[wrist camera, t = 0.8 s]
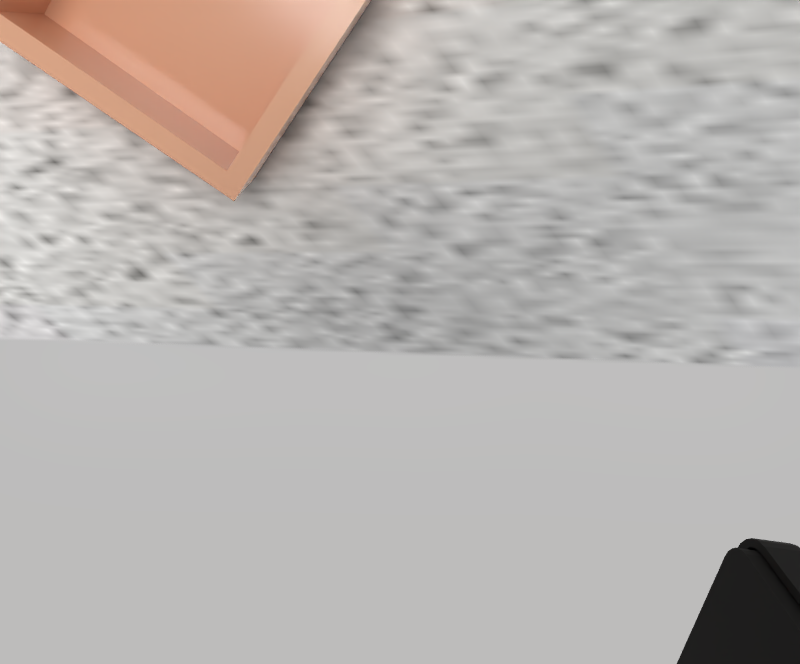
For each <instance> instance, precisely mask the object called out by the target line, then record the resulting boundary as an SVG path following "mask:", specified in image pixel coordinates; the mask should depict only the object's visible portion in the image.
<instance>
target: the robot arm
mask: <svg viewBox="0 0 800 664" xmlns="http://www.w3.org/2000/svg"><path fill="white" fill-rule="evenodd" d="M677 664H800V548H799V547H798V546H796V545H793V544H790V543H783V542H775V541H768V540H760V539H753V538H751V539H746V540H744V541H743V542H742V543H740V545H739V547H738V548H732V549H731V550H729V551H728V553H727V554H726V556H725V557H724V560H723V562H722V564H721V566H720V569H719V571H718V573H717V575H716V578H715V580H714V582H713V584H712V586H711V589H710V591H709V593H708V595H707V598H706V600H705V602H704V604H703V607H702V609H701V611H700V613H699V615H698V618H697V620H696V622H695V625H694V627H693V629H692V631H691V633H690V636H689V638H688V640H687V642H686V644H685V647H684V649H683V651H682V654H681V656H680V658H679V660H678V662H677Z"/></svg>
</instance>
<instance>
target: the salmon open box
mask: <svg viewBox="0 0 800 664" xmlns="http://www.w3.org/2000/svg"><path fill="white" fill-rule="evenodd" d="M370 2H371V0H0V42H2V43H3V44H5V45H6V46H8V47H9V48H11V49H12V50H14V51H15V52H16V53H18V54H19V55H21V56H22V57H24V58H25V59H27V60H28V61H30V62H31V63H33V64H34V65H36V66H37V67H38V68H40V69H41V70H43V71H44V72H46V73H47V74H49V75H50V76H52V77H53V78H55V79H56V80H58V81H59V82H60V83H62V84H63V85H65V86H66V87H68V88H69V89H71V90H72V91H74V92H75V93H77V94H78V95H79V96H81V97H82V98H84V99H85V100H87V101H88V102H90V103H91V104H93V105H94V106H96V107H97V108H99V109H100V110H101V111H103V112H104V113H106V114H107V115H109V116H110V117H112V118H113V119H115V120H116V121H118V122H119V123H120V124H122V125H123V126H125V127H126V128H128V129H129V130H131V131H132V132H134V133H135V134H137V135H138V136H140V137H141V138H142V139H144V140H145V141H147V142H148V143H150V144H151V145H153V146H154V147H156V148H157V149H159V150H160V151H161V152H163V153H164V154H166V155H167V156H169V157H170V158H172V159H173V160H175V161H176V162H178V163H179V164H181V165H182V166H183V167H185V168H186V169H188V170H189V171H191V172H192V173H194V174H195V175H197V176H198V177H200V178H201V179H203V180H204V181H205V182H207V183H208V184H210V185H211V186H213V187H214V188H216V189H217V190H219V191H220V192H222V193H223V194H224V195H226V196H227V197H229V198H230V199H232V200H233V201H235V199H236V198H237V197H238V196H239V195H240V194H241V193H242V192H243V190H244V189H245V188H246V187H247V186H248V185H249V184H250V183H251V182H252V180H253V179H254V178H255V176H256V175H257V173H258V172H259V170H260V169H261V167H262V166H263V164H264V163H265V161H266V160H267V158H268V157H269V155H270V154H271V152H272V151H273V149H274V147H275V146H276V144H277V143H278V141H279V140H280V138H281V137H282V135H283V134H284V132H285V131H286V129H287V128H288V126H289V125H290V123H291V122H292V120H293V119H294V117H295V116H296V114H297V113H298V111H299V110H300V108H301V106H302V105H303V103H304V102H305V100H306V99H307V97H308V96H309V94H310V93H311V91H312V90H313V88H314V87H315V85H316V84H317V82H318V81H319V79H320V78H321V76H322V75H323V73H324V72H325V70H326V69H327V67H328V66H329V64H330V62H331V61H332V59H333V58H334V56H335V55H336V53H337V52H338V50H339V49H340V47H341V46H342V44H343V43H344V41H345V40H346V38H347V37H348V35H349V34H350V32H351V31H352V29H353V28H354V26H355V25H356V23H357V21H358V20H359V18H360V17H361V15H362V14H363V12H364V11H365V9H366V8H367V6H368V5H369V3H370Z"/></svg>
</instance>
